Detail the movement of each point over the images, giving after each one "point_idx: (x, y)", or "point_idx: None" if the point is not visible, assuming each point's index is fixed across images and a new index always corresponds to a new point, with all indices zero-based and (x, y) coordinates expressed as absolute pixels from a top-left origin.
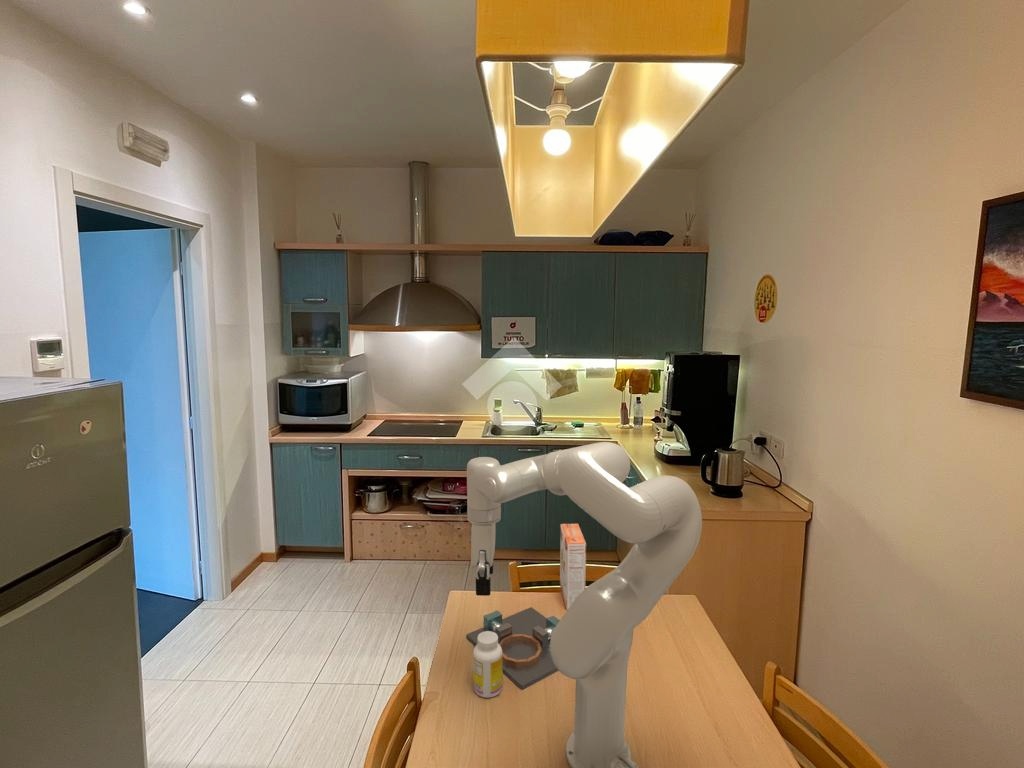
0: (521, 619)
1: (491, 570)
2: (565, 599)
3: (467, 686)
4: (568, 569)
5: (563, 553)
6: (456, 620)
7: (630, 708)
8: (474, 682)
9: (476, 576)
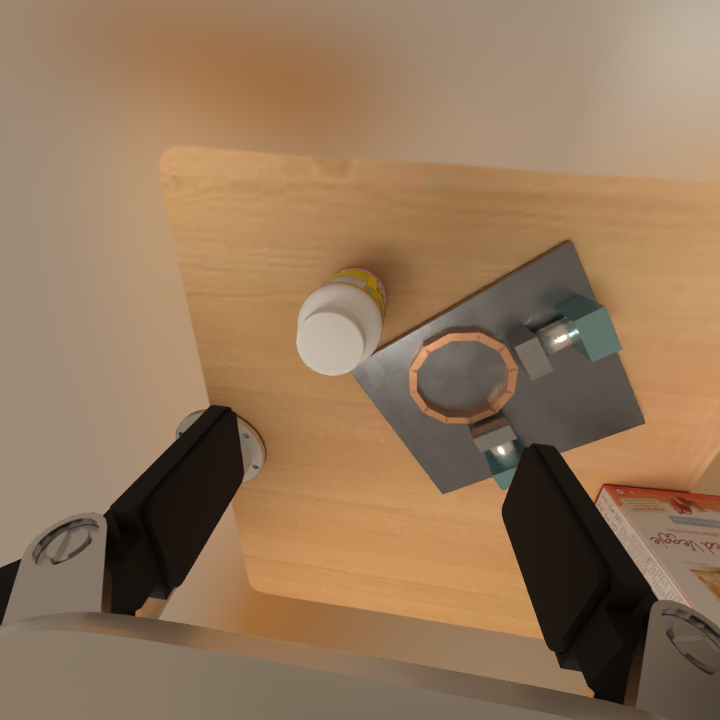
0: (594, 394)
1: (511, 531)
2: (628, 503)
3: (364, 251)
4: (684, 601)
5: None
6: (682, 200)
7: (311, 500)
8: (336, 273)
9: (24, 553)
